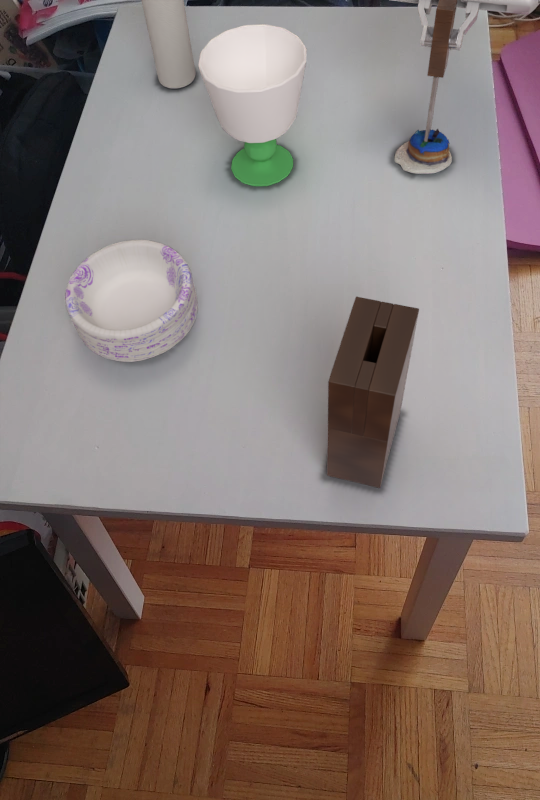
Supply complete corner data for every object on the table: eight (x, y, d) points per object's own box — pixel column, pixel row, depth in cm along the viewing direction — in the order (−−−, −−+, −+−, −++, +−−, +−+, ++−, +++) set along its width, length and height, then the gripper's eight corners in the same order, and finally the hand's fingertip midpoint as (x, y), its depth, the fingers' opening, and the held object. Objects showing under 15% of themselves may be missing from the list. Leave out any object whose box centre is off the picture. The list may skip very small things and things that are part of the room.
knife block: (326, 475, 77) (328, 381, 61) (349, 402, 82) (355, 296, 66) (380, 488, 76) (395, 396, 60) (400, 413, 80) (419, 308, 64)
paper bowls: (71, 305, 91) (50, 260, 84) (181, 268, 93) (170, 222, 86) (99, 394, 84) (79, 353, 77) (218, 353, 86) (209, 310, 79)
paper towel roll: (187, 92, 110) (159, -64, 91) (152, 86, 111) (117, -68, 92) (204, 64, 113) (180, -92, 94) (170, 59, 114) (139, -97, 95)
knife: (418, 140, 95) (436, 9, 80) (422, 126, 97) (441, -6, 82) (432, 142, 95) (453, 11, 80) (437, 128, 96) (458, -4, 81)
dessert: (464, 145, 99) (455, 128, 93) (443, 191, 100) (433, 177, 95) (414, 130, 102) (403, 113, 96) (394, 175, 103) (382, 160, 98)
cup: (203, 192, 99) (184, 86, 85) (229, 129, 105) (214, 19, 91) (298, 203, 97) (293, 96, 83) (318, 138, 103) (317, 27, 89)
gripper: (559, -71, 81) (525, 64, 86) (385, -85, 85) (362, 45, 89) (566, -97, 75) (530, 49, 80) (379, -110, 79) (355, 29, 84)
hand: (439, 47), depth 85 cm, fingers closed on knife, 2 cm apart
